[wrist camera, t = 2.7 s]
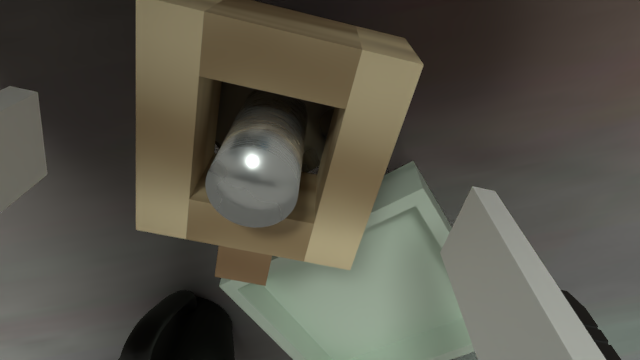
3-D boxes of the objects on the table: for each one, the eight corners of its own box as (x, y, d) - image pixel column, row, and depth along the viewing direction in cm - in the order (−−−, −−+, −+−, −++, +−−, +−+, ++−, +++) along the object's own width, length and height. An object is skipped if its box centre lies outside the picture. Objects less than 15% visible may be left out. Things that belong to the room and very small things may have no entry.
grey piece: (241, 2, 20) (152, 71, 10) (354, 30, 20) (377, 121, 10) (228, 110, 23) (149, 246, 13) (328, 132, 23) (326, 280, 13)
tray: (229, 253, 28) (218, 286, 25) (413, 160, 24) (423, 187, 21) (333, 363, 34) (333, 399, 31) (495, 303, 30) (511, 338, 27)
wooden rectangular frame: (178, -19, 14) (135, -5, 11) (404, 38, 15) (423, 64, 12) (167, 209, 19) (135, 262, 16) (338, 242, 19) (339, 299, 16)
